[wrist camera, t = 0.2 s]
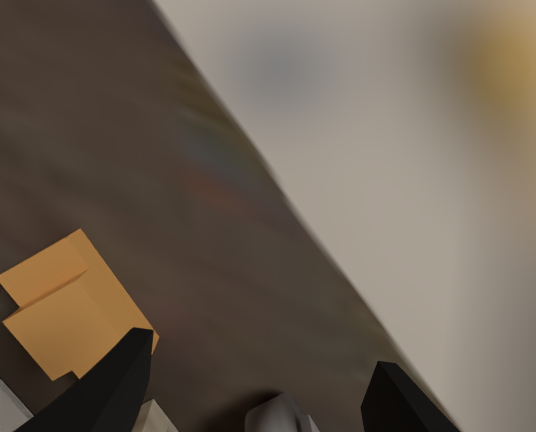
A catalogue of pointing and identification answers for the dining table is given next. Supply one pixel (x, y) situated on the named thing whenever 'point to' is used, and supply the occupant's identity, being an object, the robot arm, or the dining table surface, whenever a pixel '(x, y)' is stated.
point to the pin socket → (153, 419)
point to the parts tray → (11, 410)
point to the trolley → (279, 417)
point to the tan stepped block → (69, 307)
